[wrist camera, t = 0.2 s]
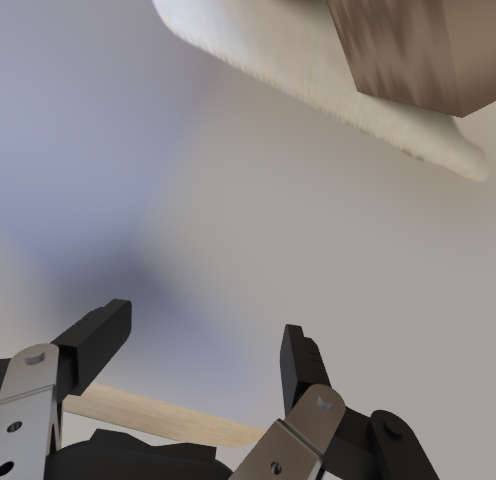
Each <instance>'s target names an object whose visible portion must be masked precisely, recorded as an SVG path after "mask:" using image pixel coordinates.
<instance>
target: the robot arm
mask: <svg viewBox="0 0 496 480" xmlns="http://www.w3.org/2000/svg"><path fill="white" fill-rule="evenodd" d="M131 312H132V304H131V301H129V300H122V299H113V300H112V301H110V302H109V303H108V304H107V305H106V306H104V307H100V308H97V309H95V310H93V311H91V312H89V313H88V314H86V315H85V316H84V317H83V318H82V319H81V320H79V321H78V322H76V323H75V325H72V326H71V327H70V328H69V329H67V330H66V331H65V332H63V333H62V334H61V335H60V336H58V337H57V338H56V339H55V340H53V341H52V342H51V343H45V344H38V345H34V346H31V347H28V348H26V349H24V350H22V351H20V352H18V353H17V354H16V355H14V357H12V358H8V359H0V480H323V479H324V476H325V474H326V472H327V471H328V472H329V473H331V474H333V475H335V476H337V477H339V478H341V479H343V480H440V479H439V478H438V476H437V474H436V472H435V471H434V469H433V467H432V465H431V463H430V462H429V459H428V458H427V456H426V454H425V452H424V450H423V449H422V447H421V445H420V443H419V441H418V439H417V437H416V436H415V434H414V432H413V431H412V429H411V428H410V427H409V426H408V425H407V423H406V422H404V421H403V420H402V419H401V418H399V417H398V416H396V415H395V414H393V413H391V412H388V411H385V410H376V411H374V412H373V413H372V414H371V417H367V416H365V415H363V414H361V413H358V412H356V411H354V410H352V409H350V408H348V407H347V406H345V403H344V401H343V399H342V397H341V396H340V395H339V394H338V393H337V392H336V391H335V390H334V389H332V387H331V384H330V381H329V378H328V375H327V373H326V369H325V366H324V364H323V361H322V357H321V356H320V352H319V349H318V346H317V345H316V343H315V342H314V341H313V340H312V339H311V338H307V337H304V335H303V331H302V327H301V326H296V325H290V324H286V326H285V330H284V335H283V340H282V346H281V351H280V368H281V379H282V388H283V399H284V408H285V419H284V420H283V421H282V420H281V419H280V418H279V419H277V420H276V421H275V422H274V423H273V424H272V426H271V427H270V428H269V429H268V430H267V432H266V433H265V434H264V435H263V437H262V438H261V439H260V440H259V442H258V443H257V444H256V445H255V447H254V448H253V449H252V450H251V452H250V453H249V454H248V455H247V457H246V458H245V459H244V460H243V462H242V463H241V464H240V465H239V467H238V468H237V469H236V470H235V472H233V471H232V470H231V469H230V468H228V467H227V466H226V465H224V464H223V463H221V462H220V461H218V460H216V459H215V456H216V447H213V446H206V445H200V444H193V443H179V444H171V445H163V446H150V445H148V444H147V443H145V442H143V441H141V440H139V439H137V438H135V437H133V436H131V435H129V434H127V433H123V432H117V431H110V430H104V429H96V431H95V432H94V434H93V435H92V437H91V438H90V440H87V441H82V442H78V443H75V444H72V445H69V446H67V447H64V448H62V449H61V442H62V423H63V400H64V399H65V398H66V396H67V395H68V394H70V395H76V396H81V395H82V393H83V392H84V391H85V390H86V388H87V387H88V386H89V385H90V384H91V382H92V381H93V380H94V379H95V378H96V376H97V375H98V374H99V373H100V372H101V370H102V369H103V368H104V367H105V365H106V364H107V363H108V362H109V361H110V360H111V358H112V357H113V356H114V355H115V353H116V352H117V351H118V350H119V349H120V347H121V346H122V345H123V344H124V343H125V341H126V340H127V338H128V337H129V335H130V332H131V315H132V314H131Z"/></svg>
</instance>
